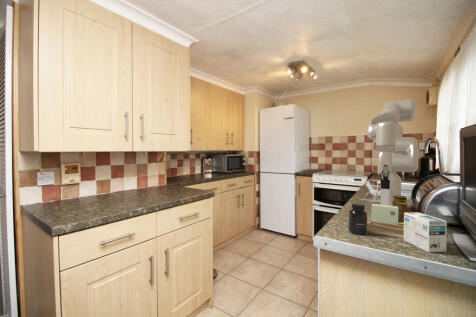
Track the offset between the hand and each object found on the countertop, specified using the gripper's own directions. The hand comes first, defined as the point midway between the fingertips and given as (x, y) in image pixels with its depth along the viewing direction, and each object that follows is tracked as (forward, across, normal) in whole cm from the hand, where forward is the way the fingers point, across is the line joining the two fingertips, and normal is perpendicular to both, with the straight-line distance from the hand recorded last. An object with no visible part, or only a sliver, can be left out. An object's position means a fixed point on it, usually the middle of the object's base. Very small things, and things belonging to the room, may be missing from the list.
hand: (384, 187), depth 100 cm
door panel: (+18, 0, 0) cm, 18 cm away
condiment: (+18, -11, +6) cm, 22 cm away
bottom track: (+18, +10, 0) cm, 20 cm away
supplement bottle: (+18, +16, -10) cm, 26 cm away
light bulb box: (+18, +18, +11) cm, 28 cm away
